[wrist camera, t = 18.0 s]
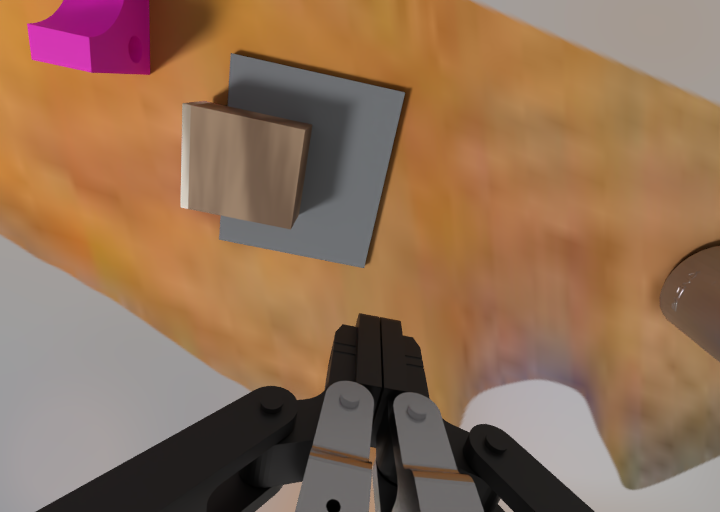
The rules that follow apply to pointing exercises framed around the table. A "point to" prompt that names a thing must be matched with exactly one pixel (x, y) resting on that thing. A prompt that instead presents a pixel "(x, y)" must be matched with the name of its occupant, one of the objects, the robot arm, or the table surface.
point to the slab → (243, 163)
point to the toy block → (95, 36)
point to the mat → (322, 157)
